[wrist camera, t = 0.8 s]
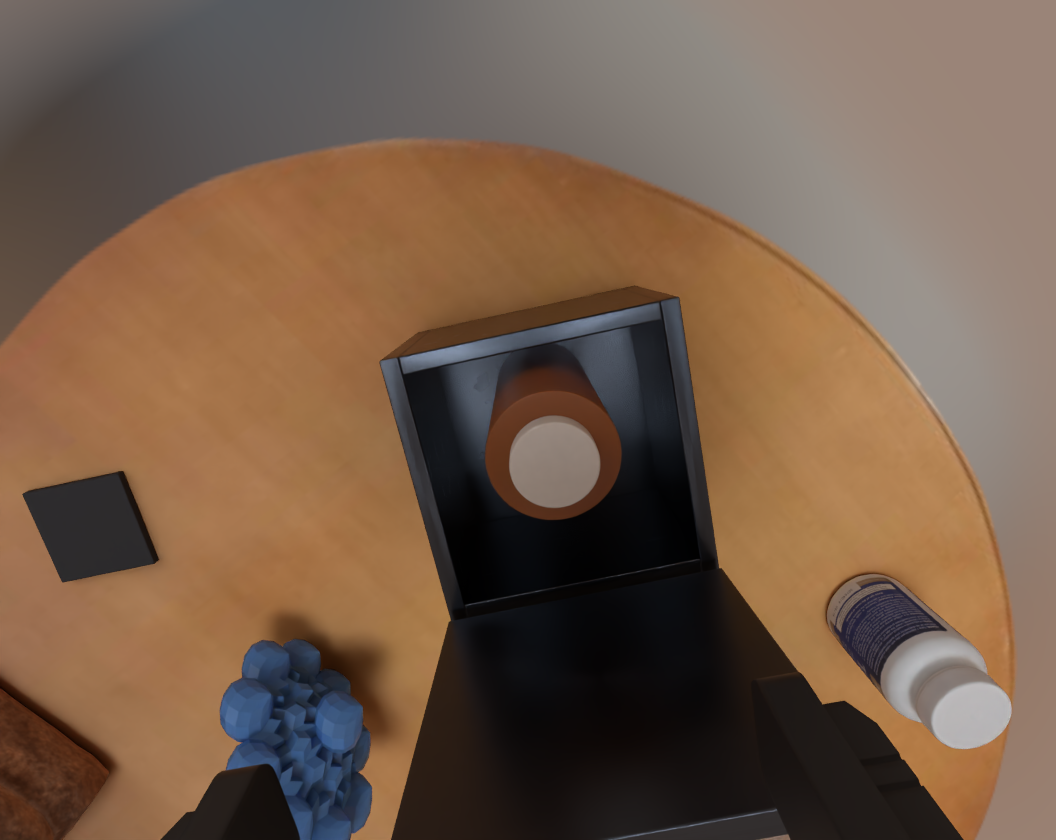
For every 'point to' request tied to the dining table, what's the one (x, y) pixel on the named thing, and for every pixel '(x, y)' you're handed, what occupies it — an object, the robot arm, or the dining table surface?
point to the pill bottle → (918, 661)
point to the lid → (598, 721)
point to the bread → (41, 776)
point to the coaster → (91, 526)
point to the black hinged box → (610, 526)
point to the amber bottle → (550, 436)
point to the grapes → (302, 736)
